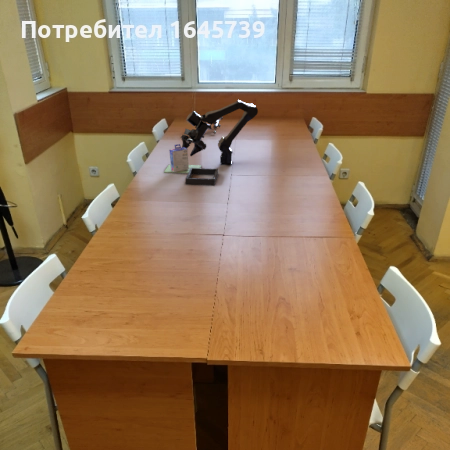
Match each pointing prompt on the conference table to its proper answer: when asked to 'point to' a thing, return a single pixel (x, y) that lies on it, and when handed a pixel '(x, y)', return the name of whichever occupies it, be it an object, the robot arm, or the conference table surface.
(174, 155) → the ink cartridge box
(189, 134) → the robot arm
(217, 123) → the tablet mount
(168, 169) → the mat
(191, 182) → the black square frame
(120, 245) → the conference table surface
